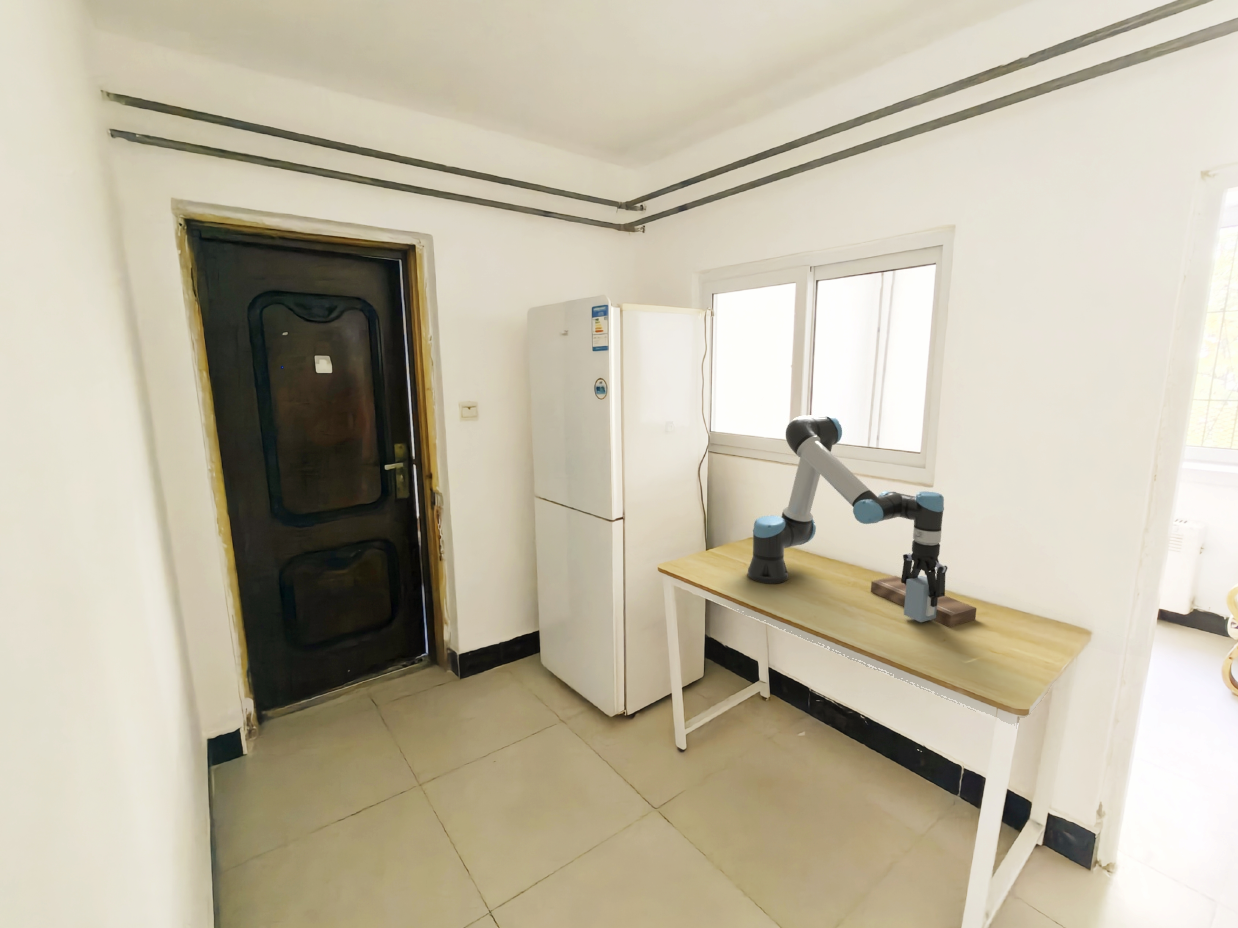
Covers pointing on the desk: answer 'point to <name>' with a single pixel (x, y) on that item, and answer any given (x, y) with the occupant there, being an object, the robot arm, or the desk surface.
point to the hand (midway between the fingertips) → (920, 610)
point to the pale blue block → (917, 599)
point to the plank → (947, 607)
